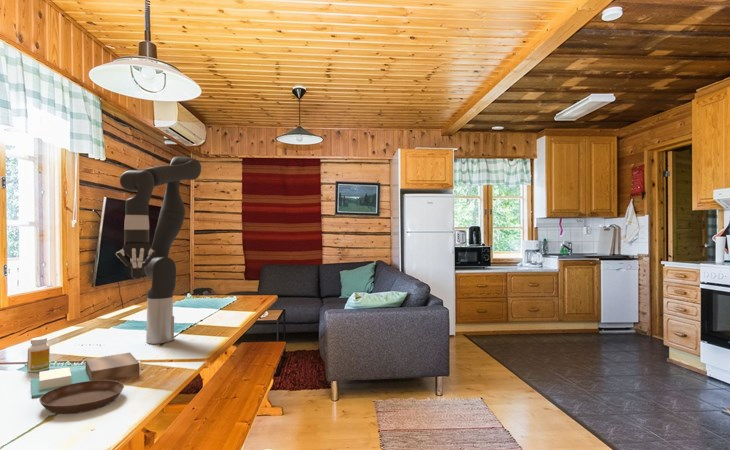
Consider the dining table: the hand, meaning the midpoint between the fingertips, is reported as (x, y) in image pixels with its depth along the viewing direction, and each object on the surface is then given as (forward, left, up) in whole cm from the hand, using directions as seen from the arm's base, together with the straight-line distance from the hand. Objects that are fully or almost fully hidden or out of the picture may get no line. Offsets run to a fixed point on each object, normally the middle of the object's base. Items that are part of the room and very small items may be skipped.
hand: (136, 278), depth 144 cm
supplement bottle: (+26, -4, -27) cm, 38 cm away
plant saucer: (+18, +34, -27) cm, 47 cm away
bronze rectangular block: (+9, +15, -27) cm, 32 cm away
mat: (+22, +15, -27) cm, 38 cm away
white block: (+23, +15, -24) cm, 36 cm away
